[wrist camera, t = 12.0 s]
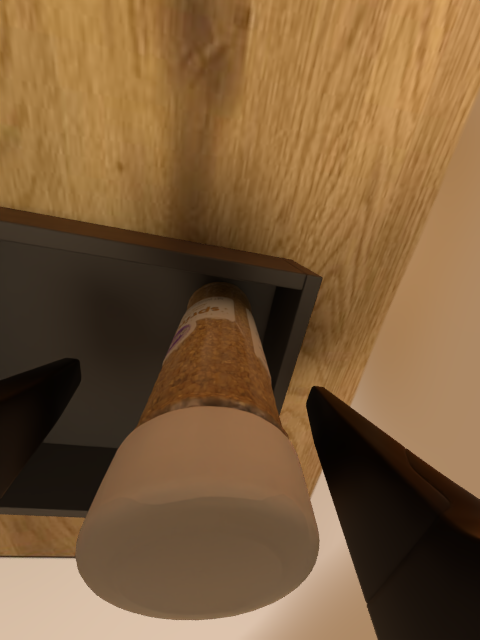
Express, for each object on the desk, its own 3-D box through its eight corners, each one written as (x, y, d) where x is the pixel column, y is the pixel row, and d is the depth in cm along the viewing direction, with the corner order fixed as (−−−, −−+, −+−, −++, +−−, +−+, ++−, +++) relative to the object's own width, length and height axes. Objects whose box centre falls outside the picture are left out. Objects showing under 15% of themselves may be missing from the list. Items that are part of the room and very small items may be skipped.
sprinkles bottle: (200, 269, 15) (92, 468, 3) (262, 295, 16) (380, 530, 4) (178, 328, 17) (45, 622, 4) (236, 348, 18) (260, 641, 5)
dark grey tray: (292, 259, 16) (323, 277, 11) (241, 457, 23) (245, 524, 18) (-66, 194, 13) (-247, 177, 8) (2, 439, 21) (-72, 511, 16)
